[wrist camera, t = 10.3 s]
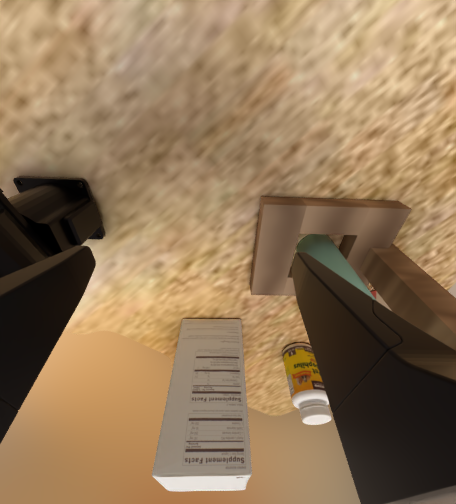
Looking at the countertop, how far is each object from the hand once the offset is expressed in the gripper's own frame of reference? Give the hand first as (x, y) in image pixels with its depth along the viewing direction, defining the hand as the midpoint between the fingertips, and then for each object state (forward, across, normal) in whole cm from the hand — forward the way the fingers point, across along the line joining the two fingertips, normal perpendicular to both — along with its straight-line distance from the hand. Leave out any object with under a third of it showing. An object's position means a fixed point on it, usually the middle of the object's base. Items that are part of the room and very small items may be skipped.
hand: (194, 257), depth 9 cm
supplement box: (+13, 0, +26) cm, 29 cm away
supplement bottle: (+13, -15, +30) cm, 36 cm away
